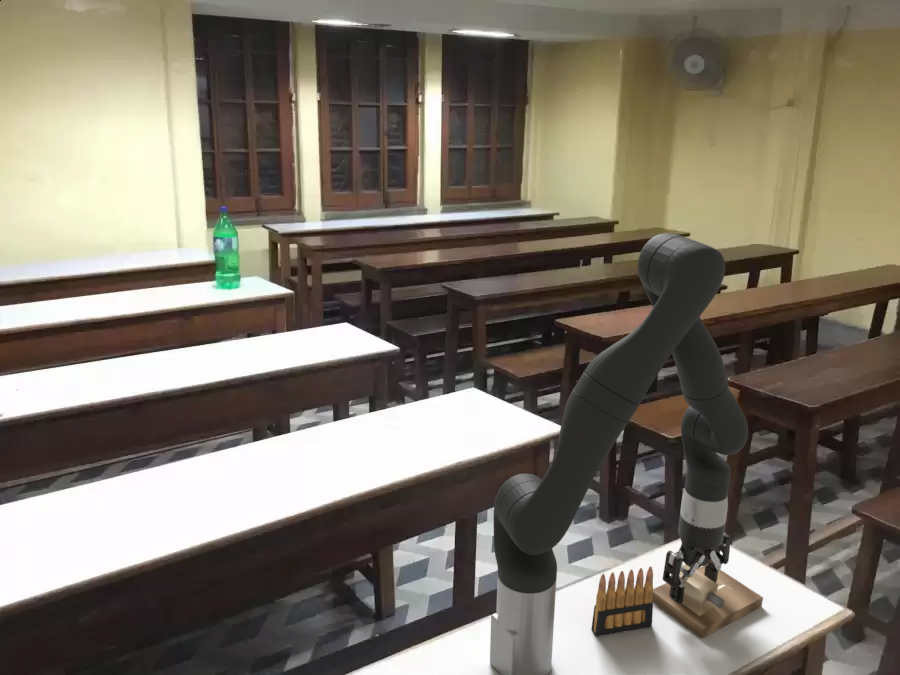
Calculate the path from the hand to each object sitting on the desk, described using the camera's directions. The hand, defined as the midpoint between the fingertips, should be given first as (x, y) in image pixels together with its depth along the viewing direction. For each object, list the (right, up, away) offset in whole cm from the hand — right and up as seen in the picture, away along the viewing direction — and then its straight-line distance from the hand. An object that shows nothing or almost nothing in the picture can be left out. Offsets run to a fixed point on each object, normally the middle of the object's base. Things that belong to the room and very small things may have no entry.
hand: (693, 593), depth 132 cm
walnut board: (+3, -3, +3) cm, 5 cm away
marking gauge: (0, -2, +1) cm, 2 cm away
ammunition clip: (-14, -5, -3) cm, 15 cm away
